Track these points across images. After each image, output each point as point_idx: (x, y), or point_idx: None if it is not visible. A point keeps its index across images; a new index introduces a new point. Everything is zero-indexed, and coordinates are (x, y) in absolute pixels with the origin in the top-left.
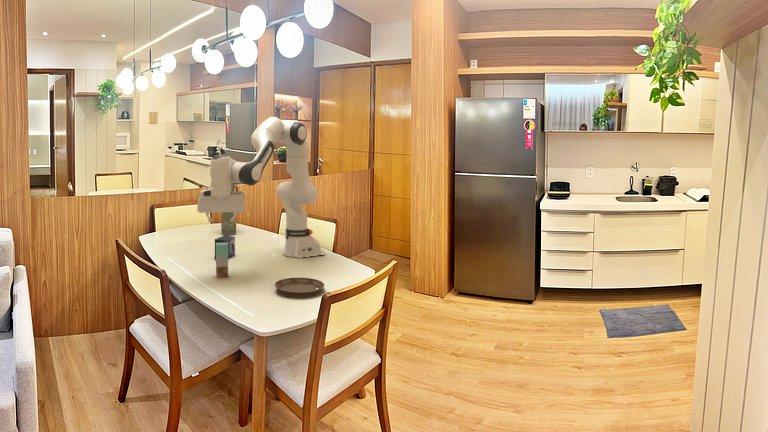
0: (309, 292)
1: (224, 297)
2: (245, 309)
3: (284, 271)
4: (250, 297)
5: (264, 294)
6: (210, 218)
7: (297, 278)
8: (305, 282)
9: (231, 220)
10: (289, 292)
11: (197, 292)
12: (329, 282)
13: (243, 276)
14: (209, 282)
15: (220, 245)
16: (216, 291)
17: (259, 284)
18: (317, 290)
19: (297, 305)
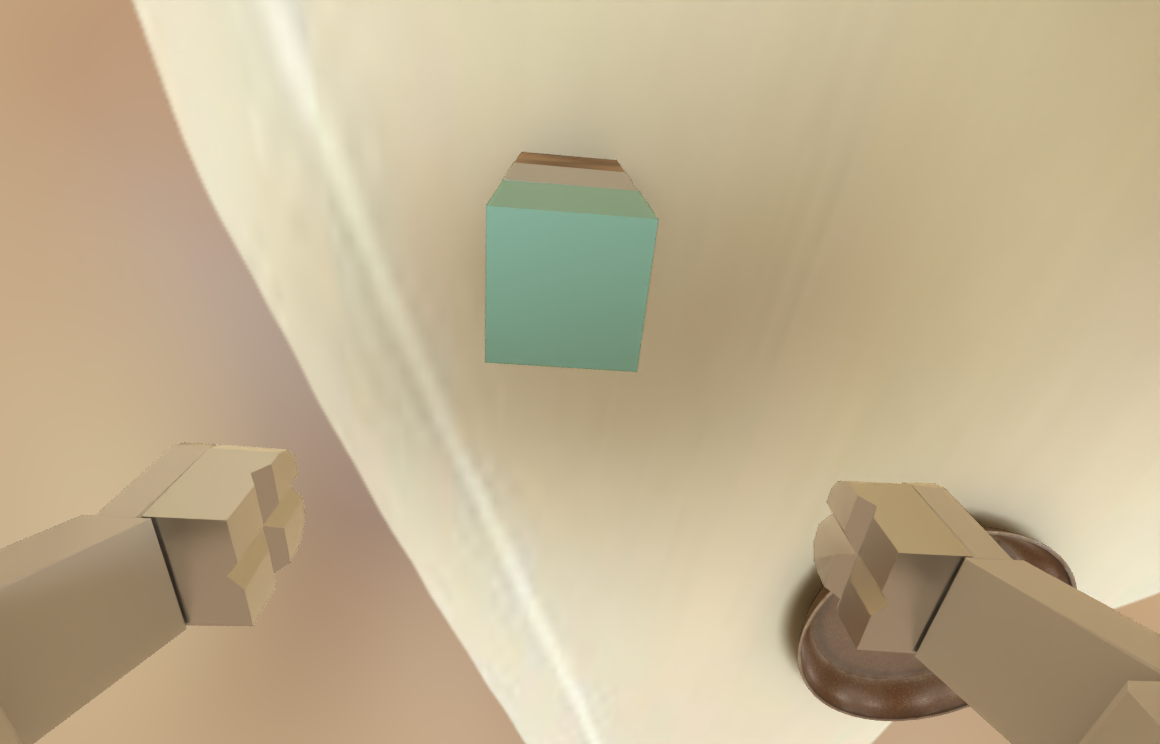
0: (913, 714)
1: (531, 605)
2: (598, 731)
3: (1076, 214)
4: (652, 630)
5: (729, 611)
6: (185, 573)
7: (996, 532)
8: (1014, 540)
9: (842, 597)
10: (828, 700)
11: (393, 510)
12: (1151, 528)
13: (721, 265)
14: (462, 346)
15: (540, 363)
16: (498, 519)
17: (764, 465)
18: (961, 706)
19: (807, 738)
